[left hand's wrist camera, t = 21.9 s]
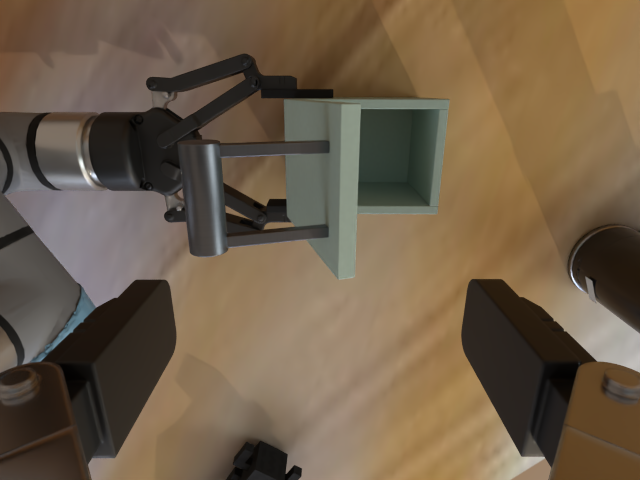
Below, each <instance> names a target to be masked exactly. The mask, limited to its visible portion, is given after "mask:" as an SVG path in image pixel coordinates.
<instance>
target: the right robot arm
mask: <svg viewBox="0 0 640 480" xmlns="http://www.w3.org/2000/svg"><path fill="white" fill-rule="evenodd" d="M240 73H244V76H245V78H246V79H245V80H244V81H242V82H241V83H239V84H238V85H236V86H235V87H233V88H232V89H230V90H229V91H227V92H226V93H224V94H223V95H221V96H220V97H218V98H216V99H215V100H213V101H212V102H210V103H209V104H207V105H206V106H204V107H203V108H201V109H200V110H198V111H197V112H195V113H193V114H191V115H190V116H188V117H186V118H185V119H182V118H181V117H179V116H178V115H176V114H175V113H174V112H172V111H171V110H169V109H168V108H167V104H168V103H169V102H170V101H173V100H175V99H176V98H177V92H184V91H188V90H191V89H194V88H197V87H200V86H203V85H206V84H210V83H213V82H216V81H219V80H222V79H225V78H228V77H231V76H234V75H237V74H240ZM146 85H147V87H148V89H149V90H151V91H152V101H153V108H151V109H150V110H148V111H146V112H104V113H101V114H98V113H96V112H52V113H17V112H0V373H1V372H3V371H5V370H8V369H10V368H13V367H16V366H19V365H23V364H27V363H32V362H40V361H41V360H42V359H43V358H45V357H46V356H47V355H48V354H49V353H50V352H51V351H52V350H53V349H54V348H55V347H56V346H57V345H58V344H59V343H60V342H61V341H62V340H63V339H64V338H65V337H66V336H67V335H68V334H69V333H70V332H73V330H74V329H75V328H76V327H77V326H78V325H79V324H80V323H81V322H83V321H84V319H85V318H86V317H87V316H88V315H89V314H90V313H91V312H92V311H93V310H94V309H95V308H96V307H95V306H94V304H93V303H92V301H91V300H90V298H89V297H88V295H87V294H86V293H85V291H84V289H83V287H82V286H81V285H80V284H78V283H77V282H76V281H75V280H74V279H73V278H72V277H71V275H70V274H69V273H68V272H67V271H66V270H65V268H64V267H63V266H62V265H61V264H60V262H59V261H58V260H57V259H56V258H55V257H54V255H53V254H52V253H51V252H50V251H49V249H48V248H47V247H46V246H45V245H44V244H43V242H42V241H41V240H40V239H39V238H38V236H37V235H36V234H35V233H34V231H33V230H32V229H31V228H30V226H29V225H28V224H27V222H26V221H25V220H24V219H23V217H22V216H21V215H20V214H19V213H18V211H17V210H16V209H15V208H14V207H13V205H12V204H11V203H10V202H9V200H8V199H7V198H6V197H5V196H4V195H7V194H10V193H13V192H18V191H34V190H73V191H104V190H107V189H109V190H113V191H156V192H158V193H161V194H162V195H165V200H166V205H167V212H166V213H165V214H164V218H165V220H166V221H168V222H186V214H185V205H184V199H183V198H180V197H179V196H178V194H177V192H178V191H180V190H181V189H182V179H181V171H180V162H179V154H178V145H177V143H178V142H180V141H186V140H202V135H200V134H199V132H198V130H199V129H201V128H202V127H204V126H205V125H207V124H208V123H209V122H211V121H212V120H214V119H215V118H217V117H218V116H220V115H222V114H223V113H225V112H226V111H228V110H229V109H231V108H232V107H234V106H235V105H237V104H239V103H240V102H242V101H243V100H245V99H246V98H248V97H249V96H251V95H252V94H254V93H255V92H257V91H259V90H261V98H333V89H297V78H294V77H292V76H263V75H262V74H261V73H260V72H259V70H258V68H257V65H256V61H255V59H254V58H253V57H252V56H250V55H248V54H241V55H238V56H235V57H232V58H229V59H226V60H223V61H220V62H217V63H214V64H211V65H208V66H205V67H202V68H200V69H197V70H194V71H191V72H188V73H185V74H182V75H179V76H176V77H173V78H161V77H150V78H148V79H147V81H146ZM223 187H224V199H225V205H226V206H228V207H230V208H231V209H233V210H235V211H237V212H239V213H241V214H242V215H244V216H246V217H248V218H250V219H252V220H250V219H246V218H243V217H239V216H236V215H232V214H229V213H226V224H227V233H234V232H245V231H256V230H263V229H264V226H265V225H266V224H267V223H269V222H291V220H290V219H289V218H288V217H287V199H269V201H268V204H267V206H264V205H262V204H260V203H259V202H257V201H255V200H253V199H252V198H250V197H248V196H246V195H244V194H243V193H241V192H239V191H237V190H235V189H234V188H232V187H230V186H228V185H226V184H225V183H223Z"/></svg>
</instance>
